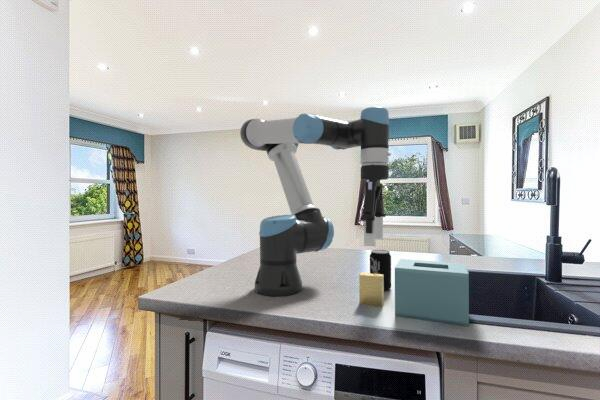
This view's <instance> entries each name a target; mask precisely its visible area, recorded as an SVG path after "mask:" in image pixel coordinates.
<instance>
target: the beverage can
mask: <svg viewBox="0 0 600 400" xmlns="http://www.w3.org/2000/svg"><path fill="white" fill-rule="evenodd" d="M370 252H371V253H370V254H369V273H373V274H384V292H386V291H390V289H391V288H392V255H391V254H390V251H389V250H386V249H372V250H371V251H370Z"/></svg>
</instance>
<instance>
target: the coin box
mask: <svg viewBox="0 0 600 400" xmlns="http://www.w3.org/2000/svg"><path fill="white" fill-rule="evenodd" d="M467 268H468V267H467V265H466V263H463V262H448V261H435V260H434V261H433V260H423V259H422V260H419V259H418V260H417V259H405V258H400V259H399V260H398V261H397V264H396V265H395V266H394V316H395V317H402V318H409V319H415V320H416V319H417V320H423V321H429V322H437V323H444V324H450V325H451V324H452V325H458V326H464V327H469V326H470V290H469V288H470V285H469V284H470V282H469V281H470V280H469V279H470V276H469V274H470V273H469V271H468V269H467Z"/></svg>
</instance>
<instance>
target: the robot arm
mask: <svg viewBox="0 0 600 400" xmlns="http://www.w3.org/2000/svg"><path fill="white" fill-rule="evenodd" d="M389 115H390V114H389V110H388V109H387V108H385V107H383V106H370V107H366V108H364V109H362V110H361V112H360V117H359V119H355V120H351V121H344V120H340V119H339V120H338V119H335V118H329V117H324V116H319V115H316V114H314V113H301V114H299V115H298V116H297V117H293V118H292V117H291V118H280V119H272V120H271V119H270V120H268V119H267V120H266V119H261V118H252V119H248V120H246V121H245V122H243V124H242V125H241V127H240V130H239V131H240V132H239V135H240V138H241V141H242V143H243V144H244V145H245V146H246V147H248V148H250V149H252V150H256V151H261V152H262V151H264V152H266V154H267V156H268V159H269V160H270V161H272V162H274V165H275V170H276V171H277V175H278V177H279V181H280V184H281V186H282V190H283V192H284V195H285V199H286V202H287V205H288V207H289V211H290V213H291V214H282V215H273V216H270V217H269V216H268V217H265V218H264V219H262V220H261V222H260V223H259V232H258V234H259V269H258V271H257V275H256V278H255V280H254V291H255V292H256V293H257V294H260V295H262V296H271V297H282V296H290V295H294V294H297V293H300V292H301V291H302V290H303V281H302V277H301V275H300V272H299V267H298V265H297V255H299V254H305V253H313V252H314V253H316V252H319V251H323V250H326V249H328V247H330V246H331V244H332V242H333V238H334V237H335V227H334V224H333V222H332V220H331V219H329V218H328V217H326V216H323V214H322V211H321V209H320V208H319V207H317V206H314V203H313V200H312V197H311V194H310V192H309V189H308V185H307V184H306V181H305V177H304V175H303V173H302V170H301V167H300V164H299V162H298V159H297V156H296V153H297V150H298V147H299V145H300V144H303V145H304V144H307V145H308V144H309V145H311V144H314V145H322V146H323V145H324V146H327V147H328V146H329V147H331V148H332V149H334V150H336V151H337V150H342V151H343V150H347V149H352V148H357V147H360V162H359V163H360V165H362V166H361V167H360V179H361V181H362V180H363V181H365V183H364V186H365V187H364V189H365V191H364V198H363V207H362V208H363V210H362V215H361V216H360V220H361V221H363V228H364V229H363V231H364V232H363V246H364V247H376V240H381V241H382V240H384V235H383V234H384V231H383V230H384V218H386V213H385V211H384V197H383V195H384V194H383V186H384V185H383V183H381V181H383V180H385V181H386V180H388V179H389V177H390V176H389V175H390V174H389V172H390V171H389V169H390V168H389V167H390V166H388V164H389V161H390V160H389V159H390V158H389V157H391V156H392V152H389V151H390V150H389V149H390V148H389V138H390V119H389V118H390V117H389Z"/></svg>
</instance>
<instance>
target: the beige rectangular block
mask: <svg viewBox="0 0 600 400" xmlns="http://www.w3.org/2000/svg"><path fill="white" fill-rule="evenodd" d="M358 280H359V281H358V282H359V286H358V287H359V293H358V294H359V299H358V300H359V305H365V306H372V307H379V308H383V305H385V303H384V302H385V301H384V298H385V297H384V296H385V295H384V294H385V293H384V292H385V291H384V274H373V273H370V272H360V273H359V279H358Z"/></svg>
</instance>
